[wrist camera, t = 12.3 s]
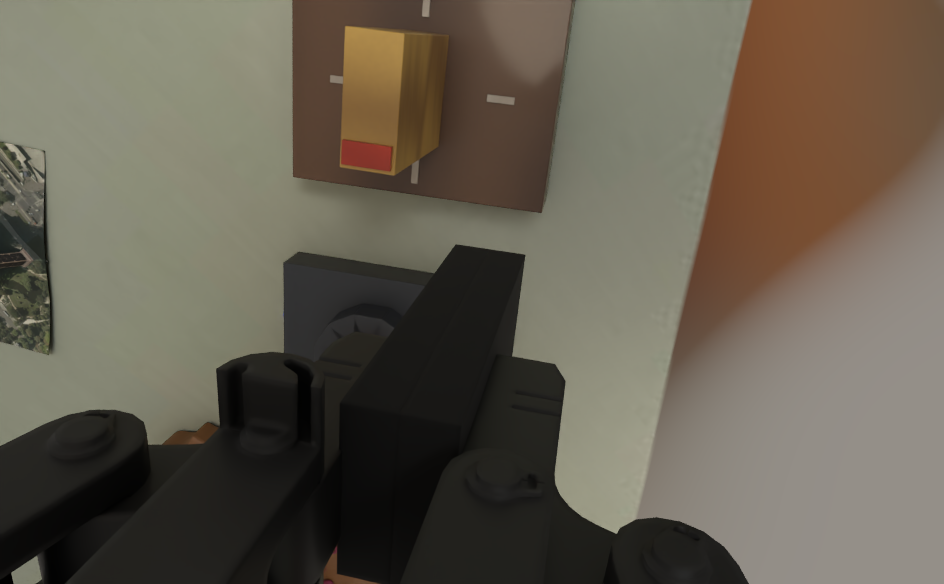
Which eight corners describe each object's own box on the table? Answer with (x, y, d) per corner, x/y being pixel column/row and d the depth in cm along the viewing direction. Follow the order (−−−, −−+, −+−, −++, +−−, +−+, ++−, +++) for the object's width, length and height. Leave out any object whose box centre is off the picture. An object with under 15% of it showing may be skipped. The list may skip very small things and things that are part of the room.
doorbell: (484, 281, 40) (472, 305, 36) (468, 420, 43) (456, 455, 40) (298, 251, 41) (269, 272, 37) (298, 388, 45) (271, 418, 41)
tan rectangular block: (402, 29, 32) (342, 25, 25) (449, 35, 32) (402, 33, 24) (394, 140, 34) (336, 168, 27) (438, 147, 34) (393, 177, 26)
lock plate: (577, -11, 33) (574, -16, 30) (545, 200, 37) (541, 213, 34) (316, -37, 35) (290, -43, 32) (314, 167, 39) (291, 177, 36)
